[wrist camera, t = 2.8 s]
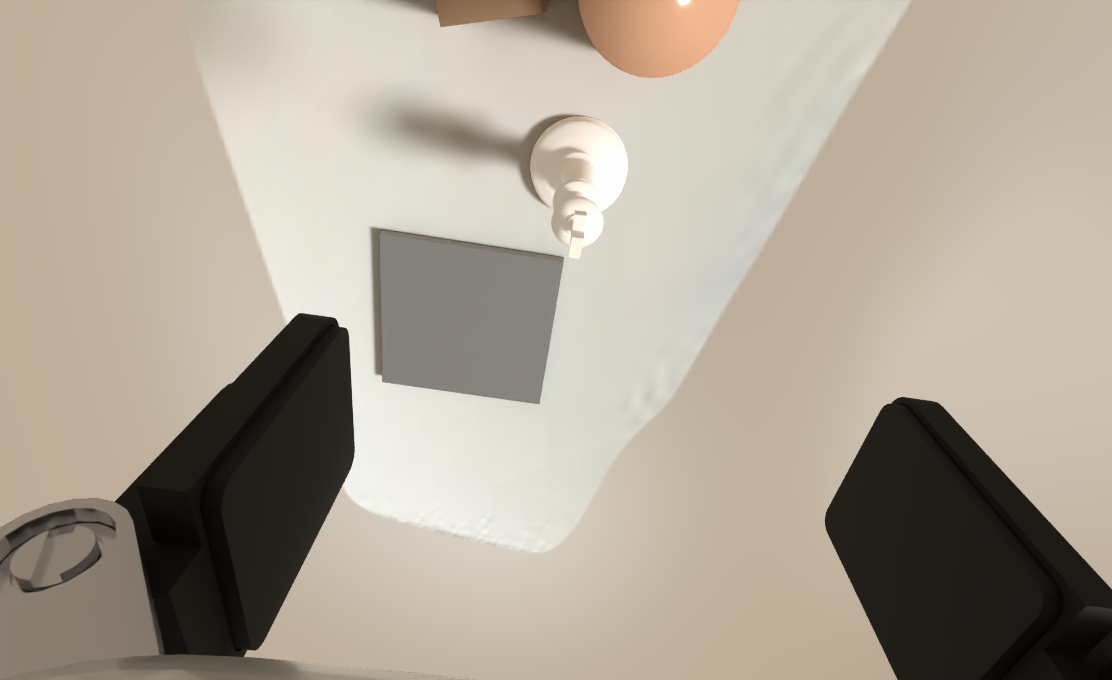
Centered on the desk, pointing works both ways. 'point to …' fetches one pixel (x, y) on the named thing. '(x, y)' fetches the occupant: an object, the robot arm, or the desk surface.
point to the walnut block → (485, 10)
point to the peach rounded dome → (656, 32)
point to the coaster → (466, 316)
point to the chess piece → (578, 177)
